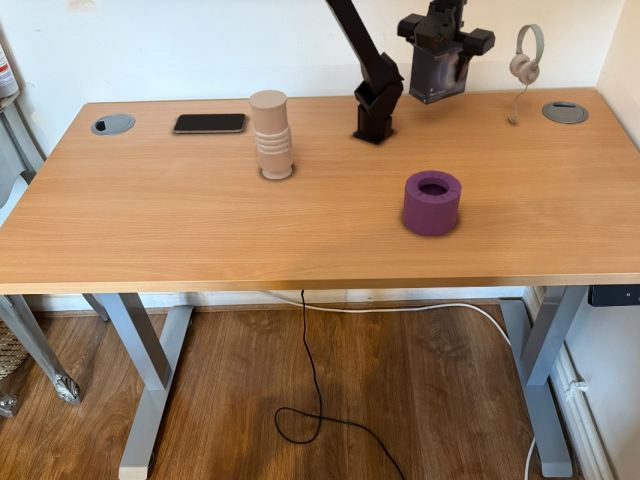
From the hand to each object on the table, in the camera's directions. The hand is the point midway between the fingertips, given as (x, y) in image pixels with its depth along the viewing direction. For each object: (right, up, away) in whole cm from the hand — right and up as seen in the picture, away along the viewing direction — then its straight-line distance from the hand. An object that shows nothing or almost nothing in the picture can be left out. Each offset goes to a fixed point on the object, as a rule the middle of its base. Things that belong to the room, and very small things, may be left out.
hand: (439, 77), depth 109 cm
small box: (0, -3, +3) cm, 4 cm away
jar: (-5, -31, -16) cm, 35 cm away
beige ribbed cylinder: (-33, -20, -4) cm, 39 cm away
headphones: (+17, -8, +6) cm, 19 cm away
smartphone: (-49, -7, +9) cm, 50 cm away
